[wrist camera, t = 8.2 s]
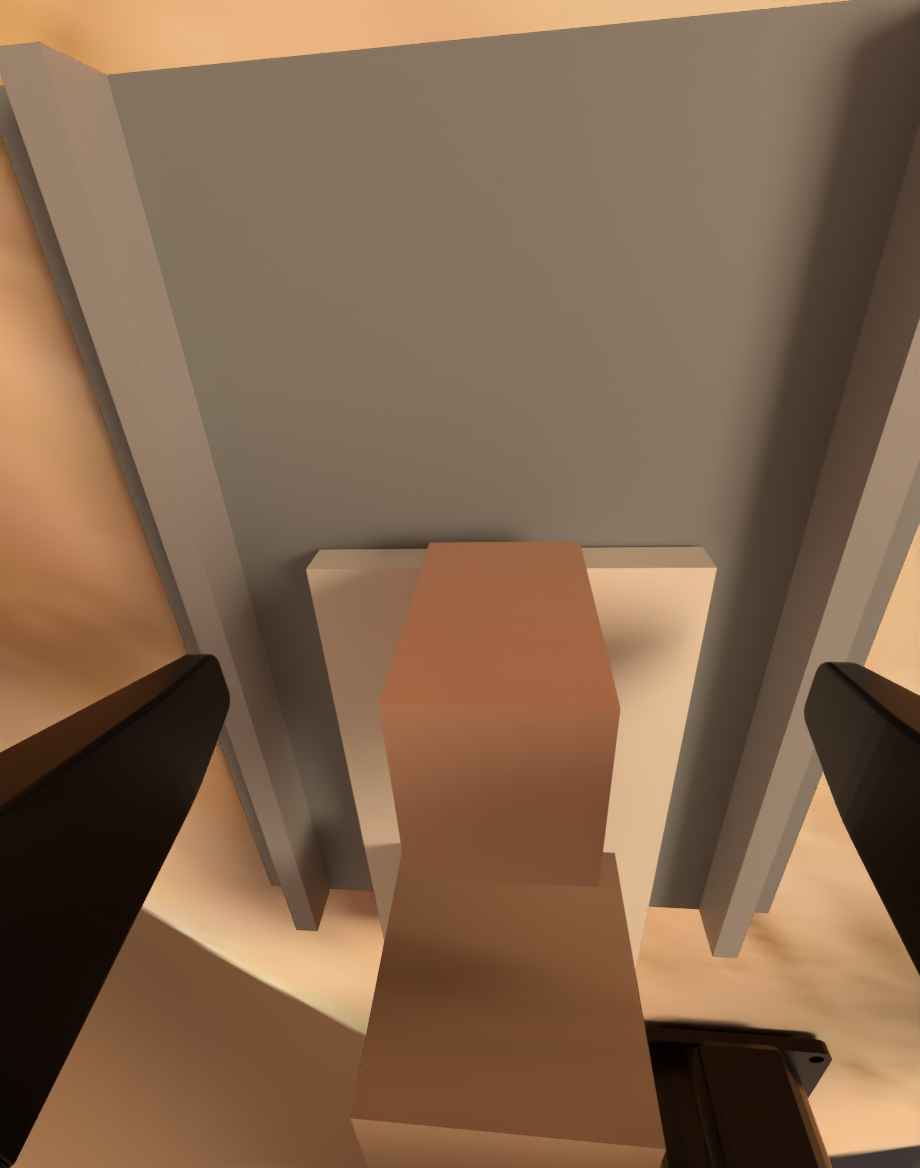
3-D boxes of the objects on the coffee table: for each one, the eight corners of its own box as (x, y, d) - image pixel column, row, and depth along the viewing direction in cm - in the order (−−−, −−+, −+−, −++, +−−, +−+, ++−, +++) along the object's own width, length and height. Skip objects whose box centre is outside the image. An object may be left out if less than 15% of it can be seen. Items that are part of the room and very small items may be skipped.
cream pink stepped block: (625, 966, 17) (662, 1198, 12) (397, 951, 17) (360, 1166, 13) (707, 520, 9) (857, 713, 5) (315, 525, 10) (177, 698, 6)
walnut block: (598, 966, 15) (632, 1242, 11) (420, 954, 16) (385, 1213, 11) (614, 852, 13) (665, 1149, 8) (403, 842, 13) (349, 1118, 9)
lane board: (754, 877, 16) (787, 961, 14) (283, 854, 17) (254, 927, 15) (1055, 9, 7) (1262, -91, 5) (38, 106, 8) (-101, 58, 6)
